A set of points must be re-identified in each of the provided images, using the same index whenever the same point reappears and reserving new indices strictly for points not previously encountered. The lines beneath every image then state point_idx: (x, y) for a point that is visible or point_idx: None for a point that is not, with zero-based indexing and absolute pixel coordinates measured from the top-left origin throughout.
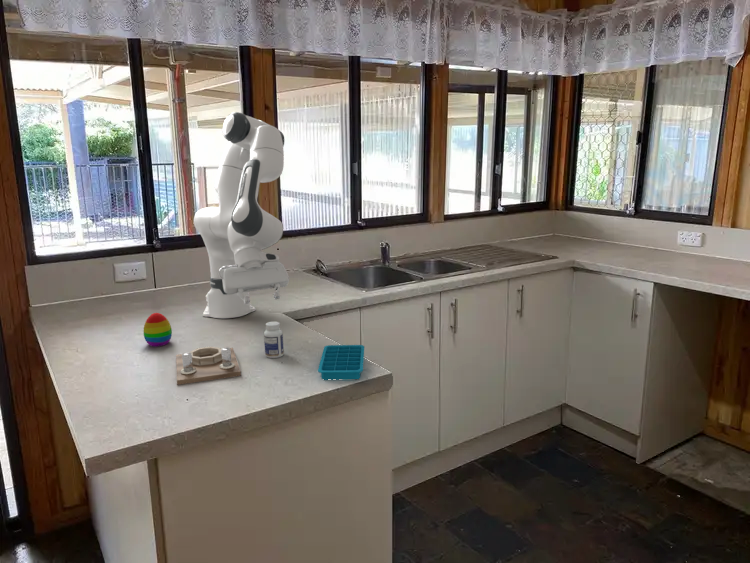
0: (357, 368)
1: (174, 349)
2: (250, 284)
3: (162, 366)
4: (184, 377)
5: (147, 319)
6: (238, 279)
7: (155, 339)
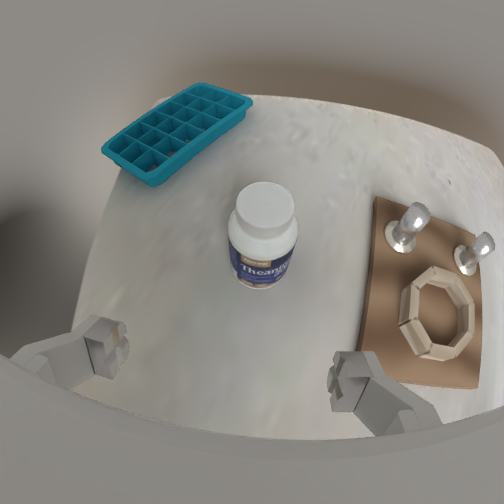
0: (188, 97)
1: None
2: (328, 448)
3: (492, 351)
4: (467, 239)
5: None
6: (476, 500)
7: None
